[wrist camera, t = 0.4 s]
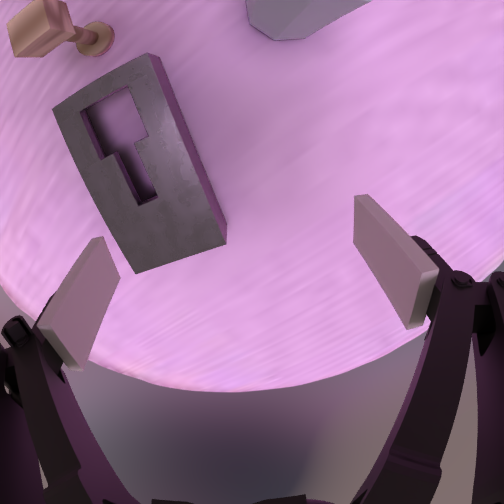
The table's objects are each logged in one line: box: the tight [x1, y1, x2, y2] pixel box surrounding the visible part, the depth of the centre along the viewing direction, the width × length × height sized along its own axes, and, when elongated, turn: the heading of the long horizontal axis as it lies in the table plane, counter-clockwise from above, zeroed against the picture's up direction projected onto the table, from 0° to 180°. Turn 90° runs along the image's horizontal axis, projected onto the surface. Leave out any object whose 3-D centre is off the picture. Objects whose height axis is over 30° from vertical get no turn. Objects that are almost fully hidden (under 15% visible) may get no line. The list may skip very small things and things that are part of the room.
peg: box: [7, 0, 114, 58], centre depth 21 cm, size 5×5×17 cm
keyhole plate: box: [52, 53, 227, 274], centre depth 36 cm, size 26×14×6 cm, turn 18°
